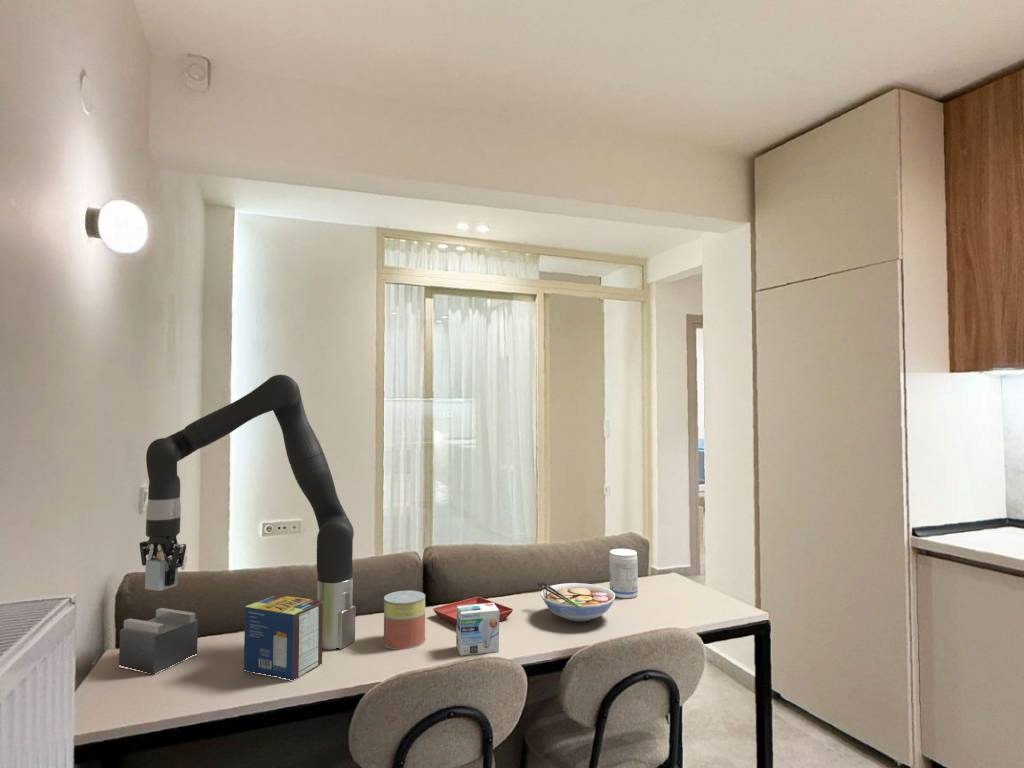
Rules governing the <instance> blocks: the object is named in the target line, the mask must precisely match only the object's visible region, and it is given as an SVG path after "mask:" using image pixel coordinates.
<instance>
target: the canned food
mask: <svg viewBox="0 0 1024 768" xmlns="http://www.w3.org/2000/svg"><path fill="white" fill-rule="evenodd" d="M425 642H426V593H424V592H423V591H419V590H411V589H410V590H397V591H393V592H389V593H388V594H387V593H386V594H385V595H384V596H383V643H384V644H383V646H385V647H386V648H388V647H389V648H388V649H391V648H392V650H409V649H414V648H417V647H420V646H422V645H424V644H425Z"/></svg>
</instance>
